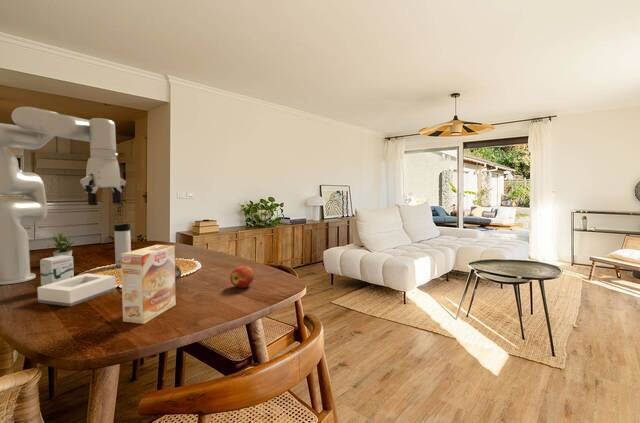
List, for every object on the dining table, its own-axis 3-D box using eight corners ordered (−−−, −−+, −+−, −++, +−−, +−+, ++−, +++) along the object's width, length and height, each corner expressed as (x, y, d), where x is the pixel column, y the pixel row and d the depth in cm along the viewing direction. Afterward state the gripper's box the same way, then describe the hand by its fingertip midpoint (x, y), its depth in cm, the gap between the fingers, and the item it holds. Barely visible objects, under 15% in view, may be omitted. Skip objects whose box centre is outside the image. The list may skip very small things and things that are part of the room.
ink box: (51, 294, 112) (50, 260, 111) (40, 293, 113) (38, 259, 112) (75, 286, 121) (73, 255, 120) (64, 285, 122) (62, 254, 121)
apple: (226, 288, 121) (226, 267, 121) (242, 282, 129) (242, 262, 128) (243, 291, 118) (243, 270, 117) (258, 285, 125) (257, 265, 124)
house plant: (32, 267, 146) (29, 231, 145) (61, 260, 160) (59, 227, 159) (58, 268, 144) (56, 232, 143) (86, 261, 158) (84, 228, 156)
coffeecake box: (144, 324, 90) (142, 255, 88) (121, 322, 91) (119, 253, 89) (177, 304, 104) (175, 245, 103) (157, 303, 105) (155, 244, 104)
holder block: (38, 302, 104) (37, 287, 104) (87, 286, 121) (86, 273, 120) (70, 306, 101) (69, 290, 101) (116, 289, 118) (115, 276, 117)
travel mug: (120, 268, 147) (118, 224, 145) (113, 266, 150) (111, 223, 148) (134, 265, 152) (133, 223, 150) (126, 263, 155) (125, 222, 154)
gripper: (115, 157, 122) (117, 202, 123) (70, 152, 105) (73, 205, 106) (132, 157, 120) (133, 203, 122) (89, 152, 103) (91, 206, 105)
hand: (105, 204), depth 114 cm, fingers open, 9 cm apart
